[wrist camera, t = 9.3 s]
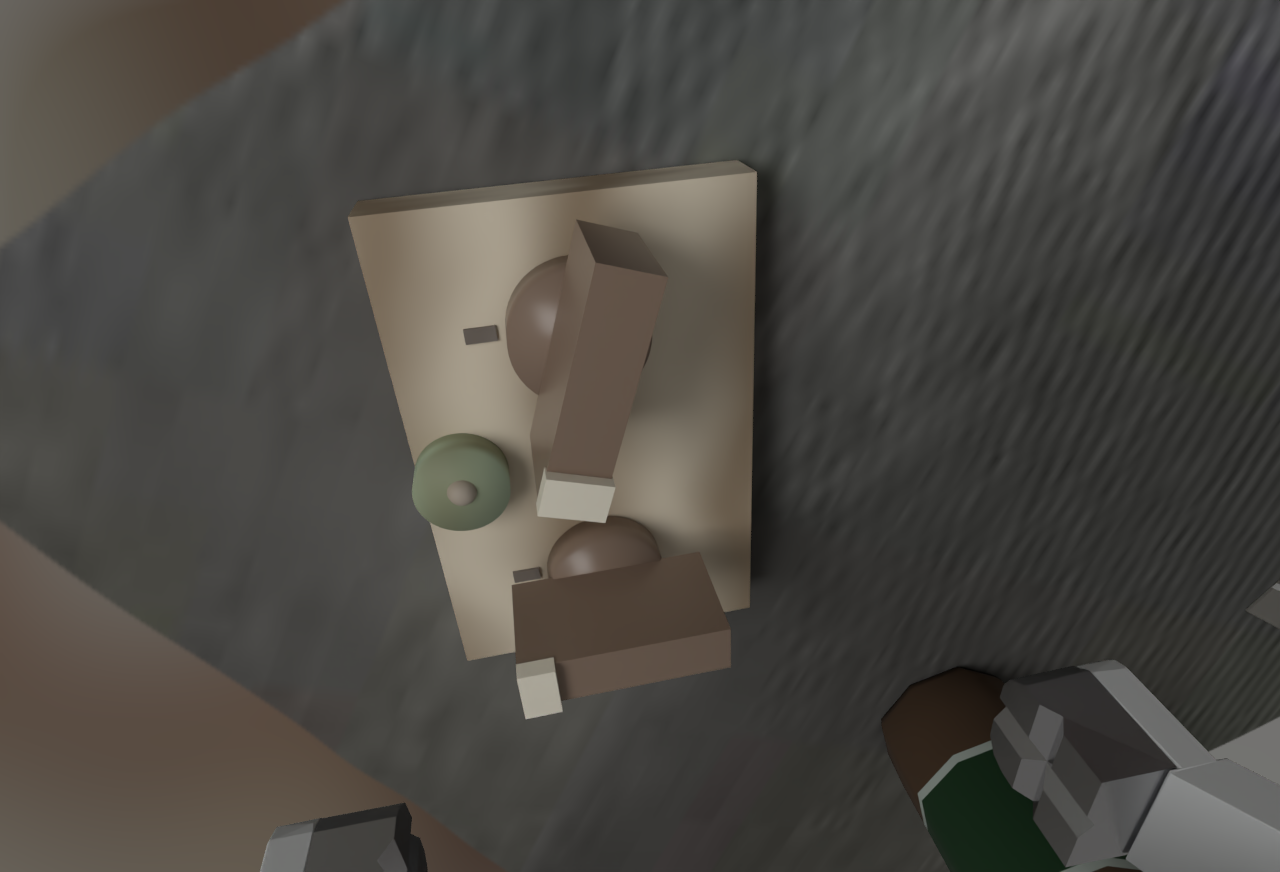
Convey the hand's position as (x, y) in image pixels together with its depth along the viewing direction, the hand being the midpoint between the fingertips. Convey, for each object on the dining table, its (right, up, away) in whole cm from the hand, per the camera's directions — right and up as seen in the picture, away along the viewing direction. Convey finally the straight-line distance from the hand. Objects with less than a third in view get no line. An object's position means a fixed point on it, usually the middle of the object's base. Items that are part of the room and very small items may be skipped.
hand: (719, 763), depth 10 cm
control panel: (-3, +5, +18) cm, 19 cm away
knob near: (-3, +8, +14) cm, 16 cm away
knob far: (-3, 0, +19) cm, 19 cm away
